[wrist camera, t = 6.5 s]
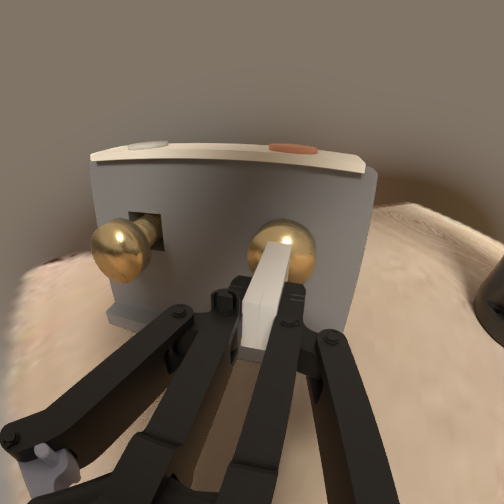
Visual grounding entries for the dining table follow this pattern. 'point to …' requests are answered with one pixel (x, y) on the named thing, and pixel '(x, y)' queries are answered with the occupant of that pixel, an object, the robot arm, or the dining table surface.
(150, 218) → the knob
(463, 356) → the dining table surface
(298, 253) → the brass knob
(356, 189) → the console
